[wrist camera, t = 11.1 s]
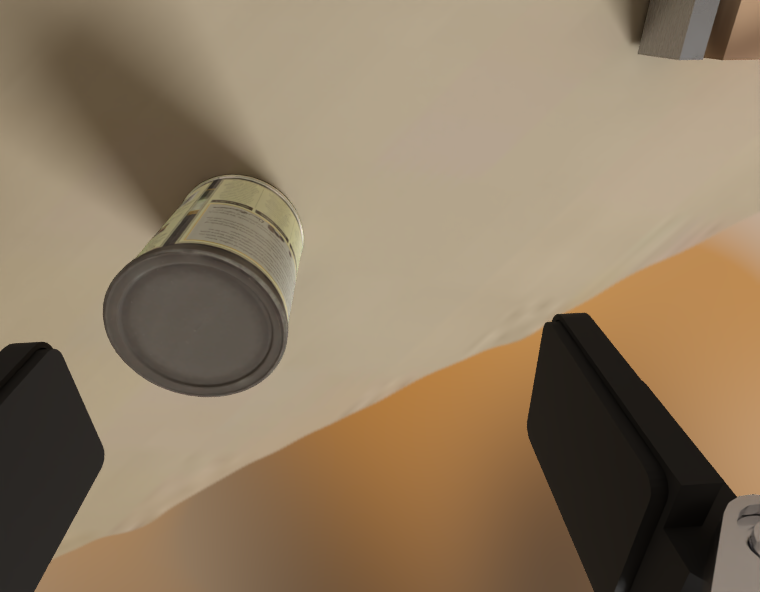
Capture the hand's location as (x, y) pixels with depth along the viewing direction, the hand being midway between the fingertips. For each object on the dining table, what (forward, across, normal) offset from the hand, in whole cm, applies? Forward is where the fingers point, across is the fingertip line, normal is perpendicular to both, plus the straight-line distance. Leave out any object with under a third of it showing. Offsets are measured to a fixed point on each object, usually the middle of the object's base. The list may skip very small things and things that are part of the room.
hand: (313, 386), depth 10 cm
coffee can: (+31, +9, +9) cm, 33 cm away
